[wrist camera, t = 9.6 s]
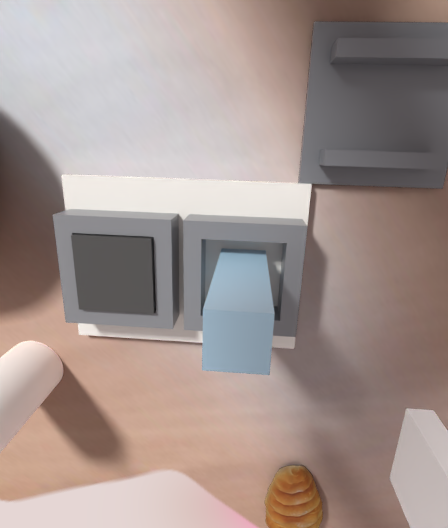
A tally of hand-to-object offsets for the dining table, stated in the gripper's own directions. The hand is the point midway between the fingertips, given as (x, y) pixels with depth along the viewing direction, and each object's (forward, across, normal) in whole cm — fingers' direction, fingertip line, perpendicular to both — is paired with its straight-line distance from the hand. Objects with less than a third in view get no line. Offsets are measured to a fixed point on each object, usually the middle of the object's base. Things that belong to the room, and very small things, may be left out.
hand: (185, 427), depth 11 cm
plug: (+22, +2, -3) cm, 22 cm away
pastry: (+23, +8, -31) cm, 40 cm away
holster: (+23, +12, +11) cm, 28 cm away
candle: (+23, -21, -16) cm, 35 cm away
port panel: (+23, -4, -2) cm, 23 cm away
